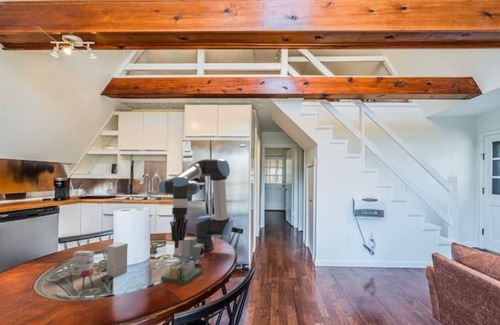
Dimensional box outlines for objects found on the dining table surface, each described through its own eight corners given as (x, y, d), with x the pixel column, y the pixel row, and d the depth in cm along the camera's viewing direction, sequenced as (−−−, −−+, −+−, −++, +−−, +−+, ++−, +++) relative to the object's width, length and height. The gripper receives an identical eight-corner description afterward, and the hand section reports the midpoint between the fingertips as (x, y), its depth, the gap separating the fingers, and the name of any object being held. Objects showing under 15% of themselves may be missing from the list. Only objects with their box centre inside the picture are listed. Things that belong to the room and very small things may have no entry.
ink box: (93, 272, 154) (94, 250, 155) (88, 275, 149) (89, 252, 150) (77, 272, 154) (78, 250, 155) (72, 275, 149) (72, 252, 150)
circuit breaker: (201, 266, 166) (202, 240, 166) (178, 264, 169) (179, 239, 169) (206, 262, 173) (206, 237, 174) (184, 261, 176) (184, 236, 177)
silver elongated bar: (187, 259, 158) (188, 255, 159) (194, 260, 157) (194, 256, 158) (171, 257, 144) (172, 253, 145) (178, 258, 143) (179, 254, 143)
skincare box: (119, 270, 158) (120, 241, 159) (127, 272, 155) (128, 243, 156) (105, 275, 151) (106, 245, 151) (114, 277, 148) (115, 246, 148)
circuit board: (180, 269, 161) (181, 256, 161) (203, 272, 156) (203, 259, 157) (161, 280, 144) (161, 266, 144) (185, 284, 139) (185, 269, 140)
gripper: (181, 205, 155) (179, 250, 153) (165, 207, 142) (163, 255, 140) (193, 206, 153) (191, 251, 151) (178, 208, 140) (176, 257, 138)
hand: (177, 253), depth 146 cm, fingers closed
